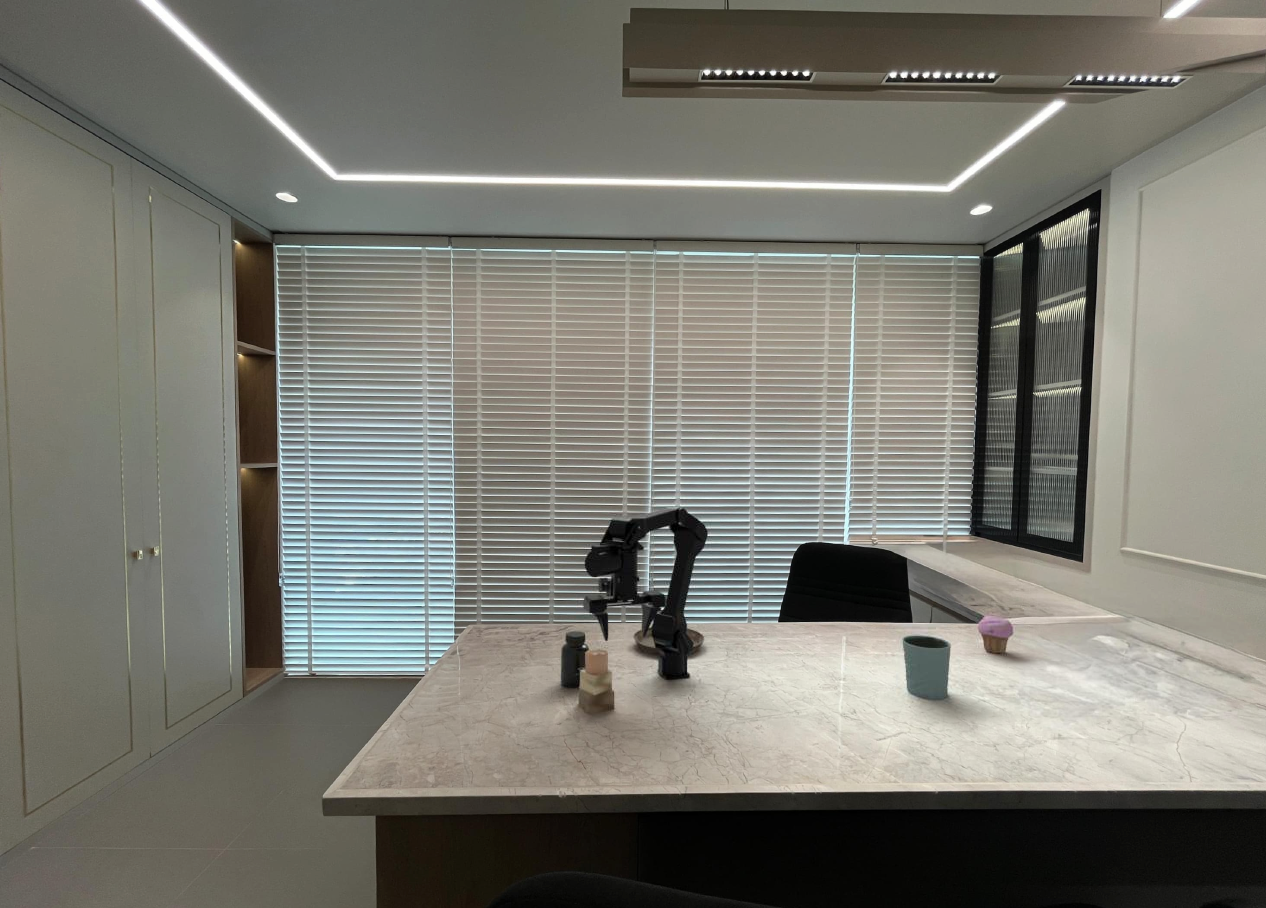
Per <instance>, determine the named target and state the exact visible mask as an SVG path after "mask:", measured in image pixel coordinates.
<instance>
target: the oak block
mask: <svg viewBox="0 0 1266 908" xmlns="http://www.w3.org/2000/svg"><path fill="white" fill-rule="evenodd" d="M580 689H582V690H584V691H586V692H588V693H590V694H593V695H597V694H600V693H602V692H605V691H608V690H611V689H612V690H613V671H612V670H610V669H608V672H607V673H605V674H602V675H590V674H587V673H586V672H585V669H584V670H580Z"/></svg>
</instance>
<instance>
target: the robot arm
mask: <svg viewBox="0 0 1266 908" xmlns="http://www.w3.org/2000/svg"><path fill="white" fill-rule="evenodd" d="M665 527H668V529H669V531H670V532H671V533H672V534H673V544H674V547H675V551H676V556H675V559H674V564H673V568H672V573H671V577H670V582H669V586H668V590H667V596H666V595H665V594H664V593H663V592H661V591H659V590H653V589H652V590H643V591H642V595H640V594H638V582H640V576H638V568H639V567H638V564H639V563H638V562H639V561H638V558H639V556H638V555H639V554H638V553H639V552H640V551H644V550H645V547H644V546H643V545H642V543H640V541H641V540H643V539H644V538H646V536H647V534H648V533H650V532H653V531H657V530H659V529H663V528H665ZM708 533H709V531H708V529H707V527H706V525H705V524H704V523H703V522H702V521H701V520H700V519H698V518H697V517H695V516H694V515H692V514H691V513H689V512H688V511H687V509H685V508H684V507H682V506H672V505H671V506H670V505H669V506H667V507H665V508H662V509H658V510H655V511H651V512H648V513H645V514H640V515H637V516H635V515H634V516H633V515H629V516H628V515H621V516H620V515H619V516H618V515H617V516H614V517H612V518H611V520H610V522H609V524H608V526H607V529H606V531H605V533H604V534H603V536H602V539H601V540H600V542H599V545H597V544H596V545H595V544H594V545H591V547H590V548H591V550H590V551H589V552H588V553H587V555H586V557H585V560H584V568H585V570H586V573H587V574H588V575H589V576H590V577H591V578H598V581H597V583H598V585H597V586H598V592H599V593H605V595H606V597H608V598H605V597H604V596H602V595H601V594H594V595H593V594H592V595H586V596H584V598H583V602H582V603H583V605H582V606H583V609H585V611H587V612H588V613H589V614H592V615H593V616H594V617H596V619H597V621H598V623H599V626H600V630H601V633H602V637H603V640H604V641H606V642H608V640H609V613H608V612H606V611H607V609H608V608H609V607H610V608H611V607H620V606H621V607H622V606H631V605H640V606H641V611H642V612H641V613H642V615H641V616H642V618H641V630H642V636H643V637H645V636H646V634H647V631H648V629H649V628H650V627H651V629H652V633H651V634H652V637H653V641H654V644H655V648H657V649H660V655H657V656H658V657H657V658H658V660H657V661H658V662H657V667H658V668H657V670H656V671H657V673H659V675H661V676H662V677H663V678H664V679H665V680H675V679H682V678H689V677H691V674H690V673H689V672H688V655H690V654H691V653H690V652H692V649H693V645H694V643H693V641H692V640H691V639H690V638H689V636H688V635H687V634H686V631H687V628H688V623H687V620H686V617H685V608H686V603H687V598H688V594H689V589H690V586H691V585H690V584H691V580H692V575H693V571H694V566H695V561H696V558H697V556H698V555H699V554H700V553H701V552H702V551H703V550H704V547H705V545H706V541H707V540H708V539H707V538H708V536H709V535H708ZM608 575H609V576H610V580H609V579H608V578H607V577H605V576H608ZM603 576H604V577H603ZM609 597H610V598H609ZM658 612H659V613H658ZM651 624H652V625H651ZM692 653H693V652H692Z"/></svg>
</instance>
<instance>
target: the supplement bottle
mask: <svg viewBox="0 0 1266 908" xmlns="http://www.w3.org/2000/svg"><path fill="white" fill-rule="evenodd" d="M564 642H565V643H564V644H563V645H562V647H561V651H560V684H562V686H564V687H566V688H573V689H575V688H579V686H580V670H584V669H585V652H586V651H588V650H590V647H589V645H588V644H587V643H586V633H585V632H583V631H577V630H574V631H568V632H566V633H565V640H564Z"/></svg>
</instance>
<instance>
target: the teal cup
mask: <svg viewBox="0 0 1266 908" xmlns="http://www.w3.org/2000/svg"><path fill="white" fill-rule="evenodd" d="M901 641H902V648H903V652H904V654H903V657H904V659H903V660H904V664H905V665H904V667H905V679H906V691H907V692H908V693H909V694H911V695H913V696H915V697H918V698H921V699H925V700H926V699H927V700H933V701H934V700H943V699H946V698H947V697H948V690H949V688H948V686H949V674H950V673H949V671H950V659H951V658H950V657H951V648H952V647H951V646H952V645H951V643H950V642H949V641H947V640H945V639H943V638H939V637H935V636H930V635H923V634H922V635H919V634H918V635H915V634H914V635H907V636H905V637H903V638H902V640H901Z"/></svg>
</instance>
